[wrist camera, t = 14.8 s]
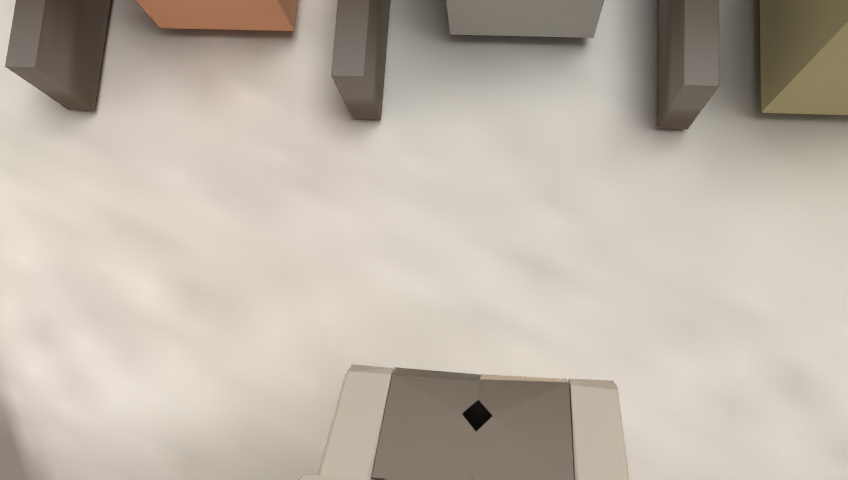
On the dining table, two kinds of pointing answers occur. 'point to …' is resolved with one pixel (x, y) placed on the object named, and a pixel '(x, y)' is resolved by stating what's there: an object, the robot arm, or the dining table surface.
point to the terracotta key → (222, 14)
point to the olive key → (804, 56)
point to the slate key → (524, 17)
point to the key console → (344, 53)
